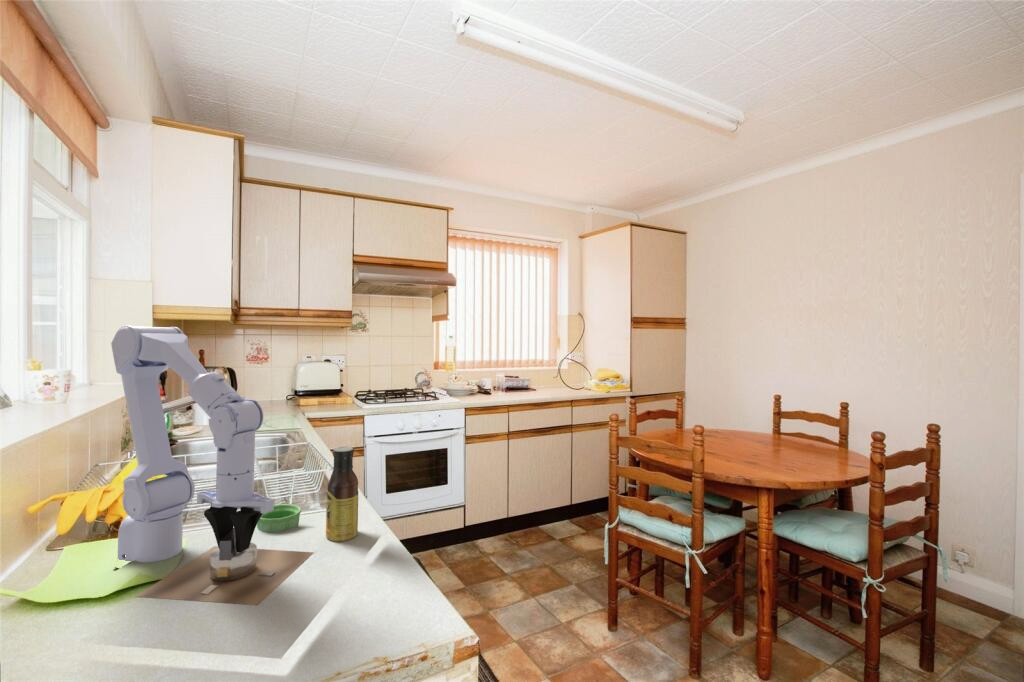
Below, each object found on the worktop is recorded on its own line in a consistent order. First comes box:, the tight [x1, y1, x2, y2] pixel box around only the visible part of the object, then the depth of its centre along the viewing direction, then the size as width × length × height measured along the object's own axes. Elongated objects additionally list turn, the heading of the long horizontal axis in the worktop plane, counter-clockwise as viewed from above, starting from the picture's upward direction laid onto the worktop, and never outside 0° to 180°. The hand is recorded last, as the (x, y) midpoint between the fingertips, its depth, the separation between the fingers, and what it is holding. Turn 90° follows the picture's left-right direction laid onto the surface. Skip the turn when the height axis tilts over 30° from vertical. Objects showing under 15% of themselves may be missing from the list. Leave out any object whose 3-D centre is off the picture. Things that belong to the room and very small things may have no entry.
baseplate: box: [135, 545, 315, 606], centre depth 84 cm, size 20×18×2 cm
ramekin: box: [256, 503, 302, 533], centre depth 105 cm, size 9×9×4 cm
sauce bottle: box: [325, 445, 359, 543], centre depth 100 cm, size 7×6×20 cm
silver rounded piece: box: [210, 527, 258, 581], centre depth 83 cm, size 8×7×7 cm
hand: (233, 548), depth 83 cm, fingers closed on silver rounded piece, 3 cm apart
